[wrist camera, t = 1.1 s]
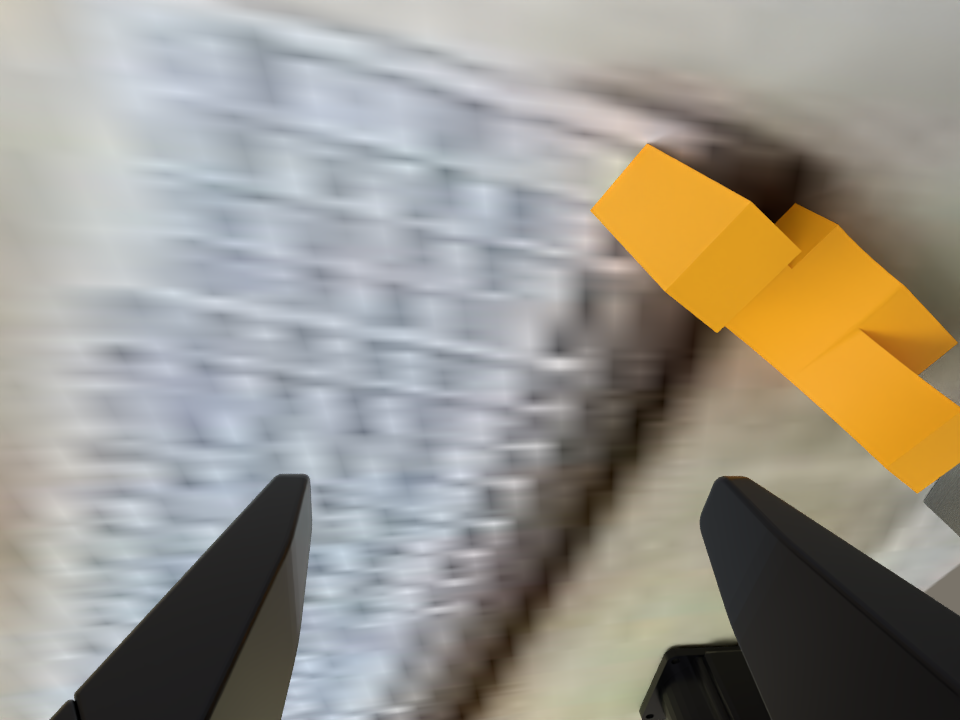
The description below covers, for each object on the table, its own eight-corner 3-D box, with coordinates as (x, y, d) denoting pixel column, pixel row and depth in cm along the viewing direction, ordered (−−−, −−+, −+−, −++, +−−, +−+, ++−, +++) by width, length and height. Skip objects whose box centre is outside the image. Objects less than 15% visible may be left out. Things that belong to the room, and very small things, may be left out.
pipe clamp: (889, 301, 22) (1049, 397, 17) (798, 380, 24) (917, 493, 18) (686, 92, 18) (817, 133, 12) (588, 208, 19) (664, 291, 14)
